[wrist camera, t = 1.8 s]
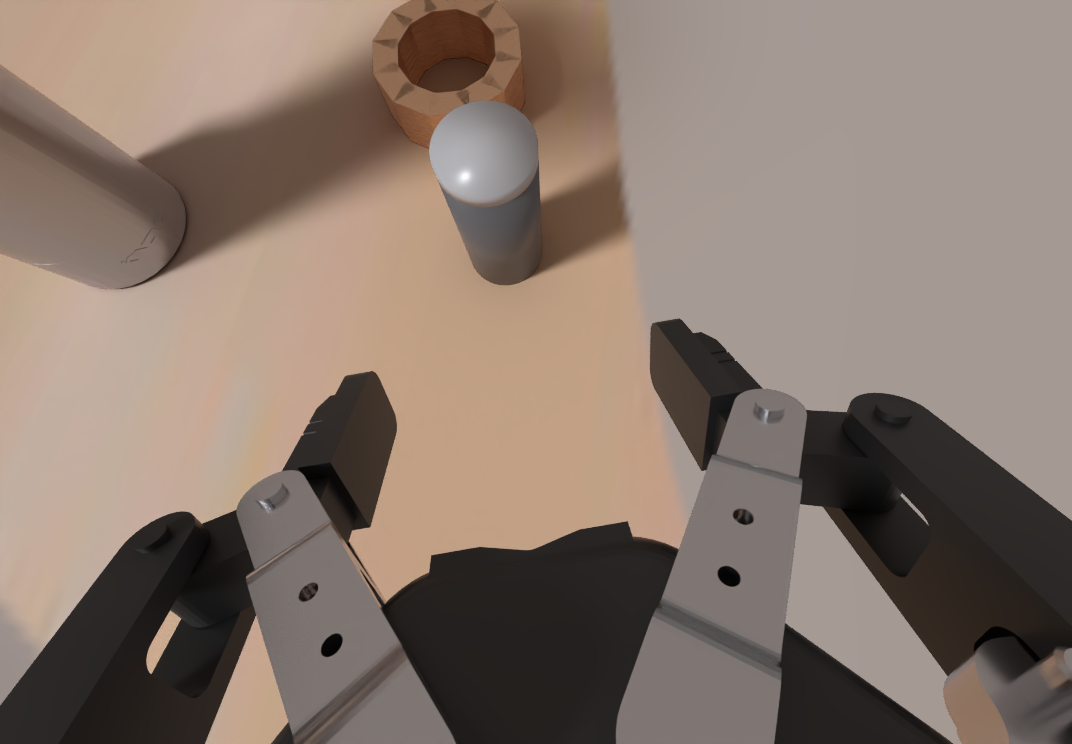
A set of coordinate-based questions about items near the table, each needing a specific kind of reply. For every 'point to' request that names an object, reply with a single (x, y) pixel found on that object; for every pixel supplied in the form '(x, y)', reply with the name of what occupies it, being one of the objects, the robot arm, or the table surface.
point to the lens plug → (492, 187)
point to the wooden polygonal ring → (442, 33)
